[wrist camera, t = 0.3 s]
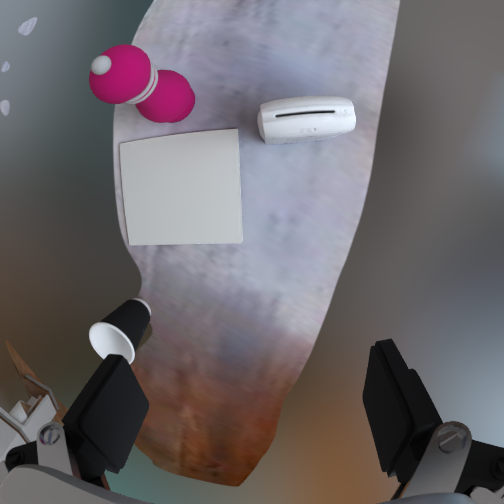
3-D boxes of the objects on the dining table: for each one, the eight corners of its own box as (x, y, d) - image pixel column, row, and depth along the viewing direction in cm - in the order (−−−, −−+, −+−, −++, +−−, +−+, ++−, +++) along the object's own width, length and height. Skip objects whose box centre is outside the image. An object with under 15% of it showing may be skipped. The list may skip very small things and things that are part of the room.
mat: (121, 143, 36) (119, 143, 36) (238, 129, 35) (237, 128, 34) (130, 244, 41) (129, 245, 41) (242, 242, 40) (242, 243, 39)
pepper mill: (142, 109, 34) (52, 84, 15) (173, 71, 32) (100, 16, 13) (176, 135, 35) (94, 119, 16) (209, 96, 33) (152, 42, 14)
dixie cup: (117, 286, 44) (83, 318, 33) (157, 293, 43) (129, 329, 33) (122, 324, 46) (95, 359, 36) (161, 332, 46) (137, 371, 36)
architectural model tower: (50, 389, 59) (-3, 463, 25) (59, 408, 62) (13, 478, 29) (27, 374, 58) (-27, 439, 25) (35, 394, 62) (-11, 457, 29)
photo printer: (331, 110, 33) (358, 89, 21) (336, 140, 34) (365, 131, 23) (257, 117, 34) (251, 96, 22) (261, 147, 35) (257, 139, 24)
